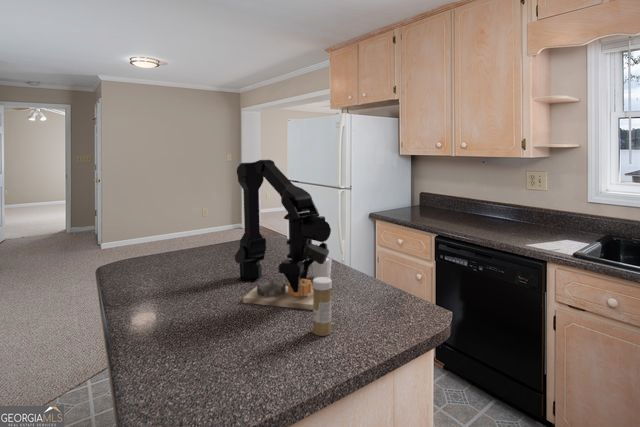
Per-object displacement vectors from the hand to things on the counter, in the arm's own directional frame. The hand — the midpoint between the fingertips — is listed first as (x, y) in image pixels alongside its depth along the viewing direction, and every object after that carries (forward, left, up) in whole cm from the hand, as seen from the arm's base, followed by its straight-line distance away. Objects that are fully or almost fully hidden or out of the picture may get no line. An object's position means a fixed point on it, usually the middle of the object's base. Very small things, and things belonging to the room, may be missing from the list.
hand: (299, 287), depth 111 cm
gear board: (-4, 0, -4) cm, 6 cm away
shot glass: (+2, +20, -4) cm, 20 cm away
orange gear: (0, 0, -1) cm, 1 cm away
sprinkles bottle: (+12, -18, -4) cm, 22 cm away
